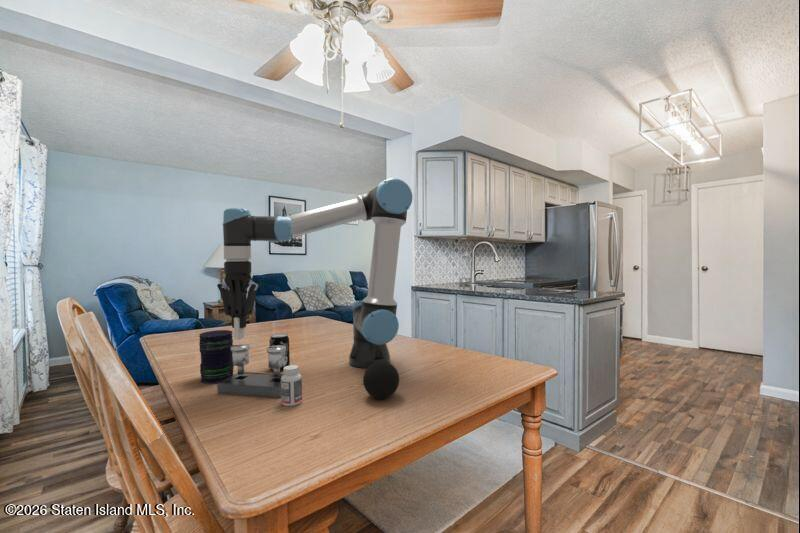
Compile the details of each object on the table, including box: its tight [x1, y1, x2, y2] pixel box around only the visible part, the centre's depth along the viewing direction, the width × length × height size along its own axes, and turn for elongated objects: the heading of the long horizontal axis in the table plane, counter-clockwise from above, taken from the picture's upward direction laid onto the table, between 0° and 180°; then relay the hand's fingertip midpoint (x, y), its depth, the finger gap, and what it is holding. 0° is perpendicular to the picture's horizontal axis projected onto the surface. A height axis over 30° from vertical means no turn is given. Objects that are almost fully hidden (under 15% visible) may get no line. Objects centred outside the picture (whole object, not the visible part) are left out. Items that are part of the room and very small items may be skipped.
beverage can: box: [269, 332, 291, 372], centre depth 132 cm, size 7×7×12 cm
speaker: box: [362, 361, 400, 400], centre depth 105 cm, size 10×10×10 cm
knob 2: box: [266, 345, 286, 377], centre depth 112 cm, size 5×5×9 cm
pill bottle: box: [281, 364, 303, 407], centre depth 102 cm, size 5×5×10 cm
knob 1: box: [231, 343, 251, 375], centre depth 114 cm, size 5×5×9 cm
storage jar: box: [198, 329, 235, 384], centre depth 123 cm, size 10×10×15 cm
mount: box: [216, 370, 284, 399], centre depth 113 cm, size 20×11×3 cm, turn 78°
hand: (239, 338), depth 114 cm, fingers closed
